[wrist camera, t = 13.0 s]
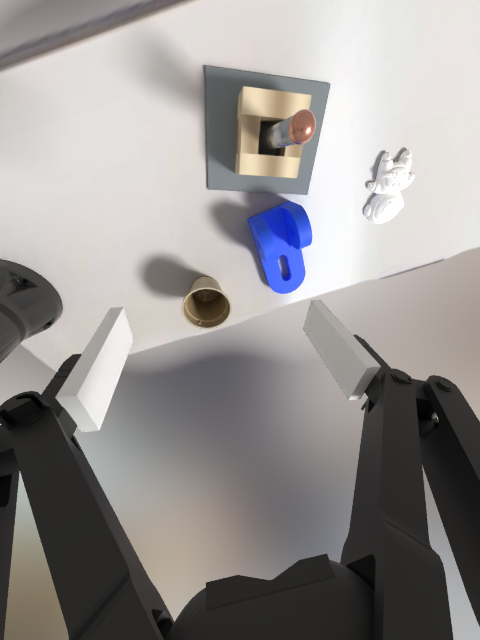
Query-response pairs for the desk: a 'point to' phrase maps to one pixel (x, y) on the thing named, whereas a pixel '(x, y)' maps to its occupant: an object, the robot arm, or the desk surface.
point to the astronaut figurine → (389, 187)
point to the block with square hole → (250, 113)
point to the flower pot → (206, 304)
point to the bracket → (282, 243)
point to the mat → (223, 130)
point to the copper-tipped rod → (289, 131)
